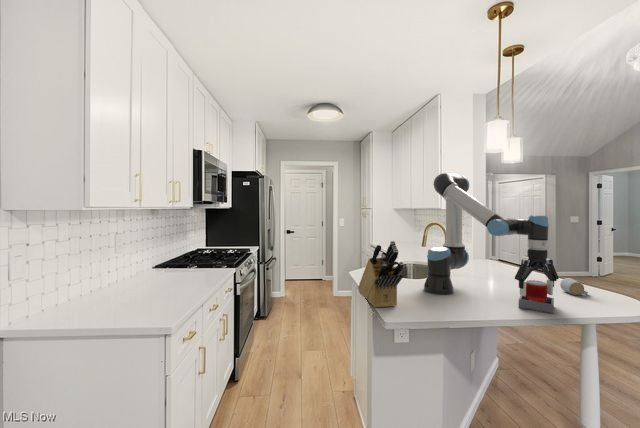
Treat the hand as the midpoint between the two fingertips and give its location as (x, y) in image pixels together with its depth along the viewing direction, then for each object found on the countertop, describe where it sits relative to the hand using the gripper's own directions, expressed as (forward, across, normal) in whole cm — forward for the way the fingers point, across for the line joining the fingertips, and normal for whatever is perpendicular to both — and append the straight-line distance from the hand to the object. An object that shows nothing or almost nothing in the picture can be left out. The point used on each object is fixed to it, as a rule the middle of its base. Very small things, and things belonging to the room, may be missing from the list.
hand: (536, 295), depth 141 cm
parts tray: (+6, 0, 0) cm, 6 cm away
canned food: (+5, 0, 0) cm, 5 cm away
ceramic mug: (+6, +38, +17) cm, 42 cm away
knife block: (+6, -69, +16) cm, 71 cm away
